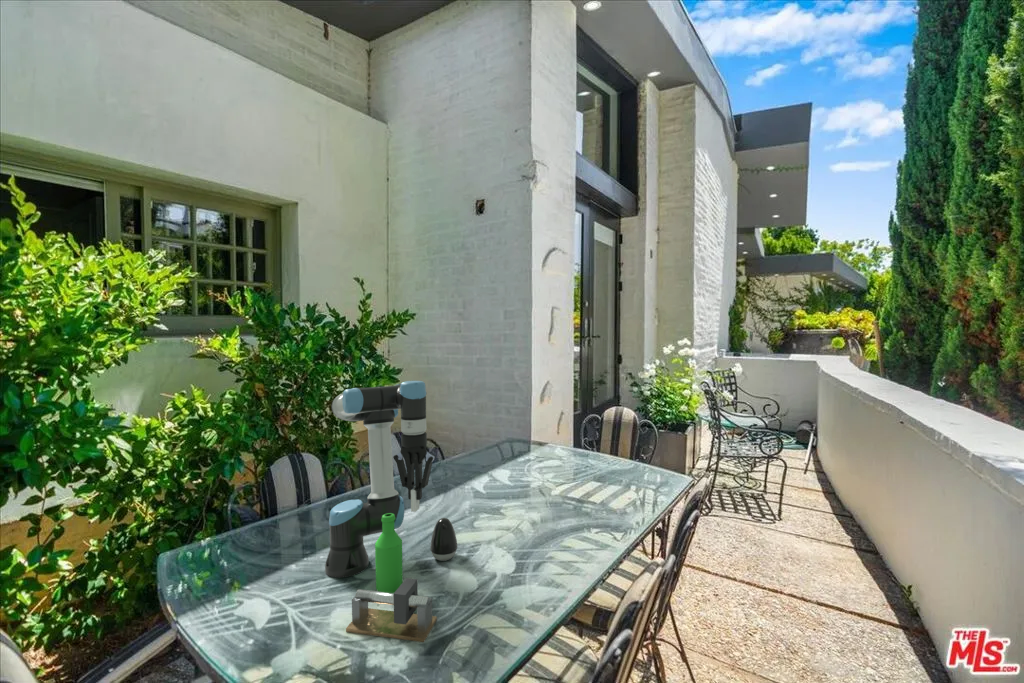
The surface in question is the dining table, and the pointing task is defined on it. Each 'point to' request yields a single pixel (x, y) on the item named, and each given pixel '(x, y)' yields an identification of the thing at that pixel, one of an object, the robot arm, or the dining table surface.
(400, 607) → the grey sliding block
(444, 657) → the dining table surface
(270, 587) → the dining table surface
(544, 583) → the dining table surface
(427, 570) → the dining table surface
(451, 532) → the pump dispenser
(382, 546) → the bottle
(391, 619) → the pipe stand
